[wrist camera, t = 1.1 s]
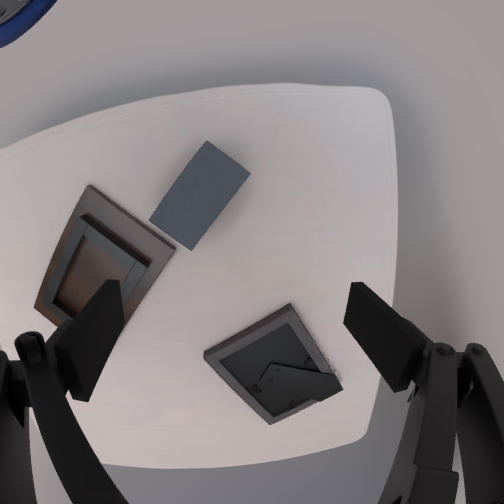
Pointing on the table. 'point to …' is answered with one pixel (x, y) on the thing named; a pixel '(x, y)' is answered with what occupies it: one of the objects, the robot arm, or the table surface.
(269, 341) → the picture frame
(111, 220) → the back plate
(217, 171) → the pad block
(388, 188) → the table surface
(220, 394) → the table surface
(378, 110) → the table surface
